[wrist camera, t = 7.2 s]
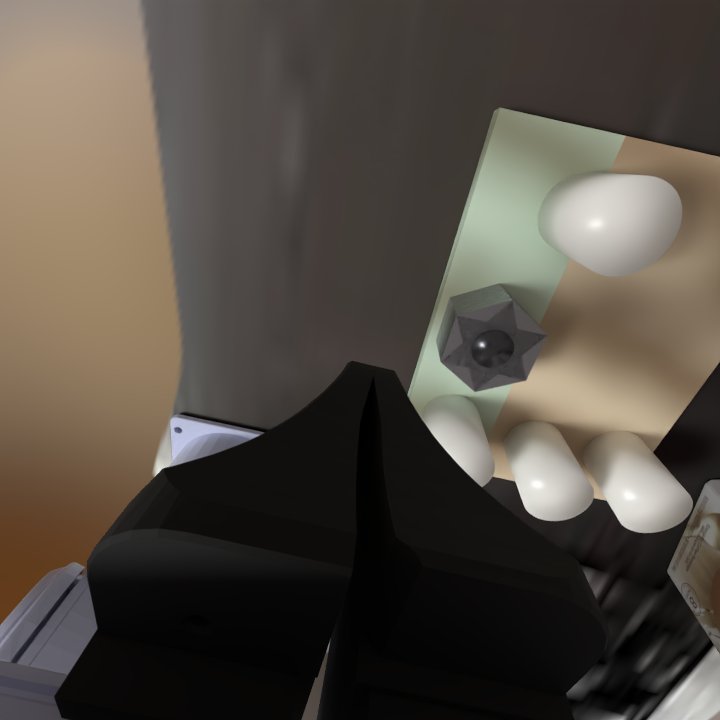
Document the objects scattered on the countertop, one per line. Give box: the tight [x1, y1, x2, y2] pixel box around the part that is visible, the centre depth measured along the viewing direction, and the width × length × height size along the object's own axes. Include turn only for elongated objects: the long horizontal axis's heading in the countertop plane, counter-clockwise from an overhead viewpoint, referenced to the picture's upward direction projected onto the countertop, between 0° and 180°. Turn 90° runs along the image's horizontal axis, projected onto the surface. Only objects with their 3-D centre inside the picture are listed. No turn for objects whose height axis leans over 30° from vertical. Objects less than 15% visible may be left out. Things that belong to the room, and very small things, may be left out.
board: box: [408, 108, 720, 501], centre depth 19 cm, size 18×14×1 cm
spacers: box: [421, 172, 693, 533], centre depth 17 cm, size 15×14×4 cm
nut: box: [436, 283, 548, 392], centre depth 18 cm, size 5×4×2 cm
